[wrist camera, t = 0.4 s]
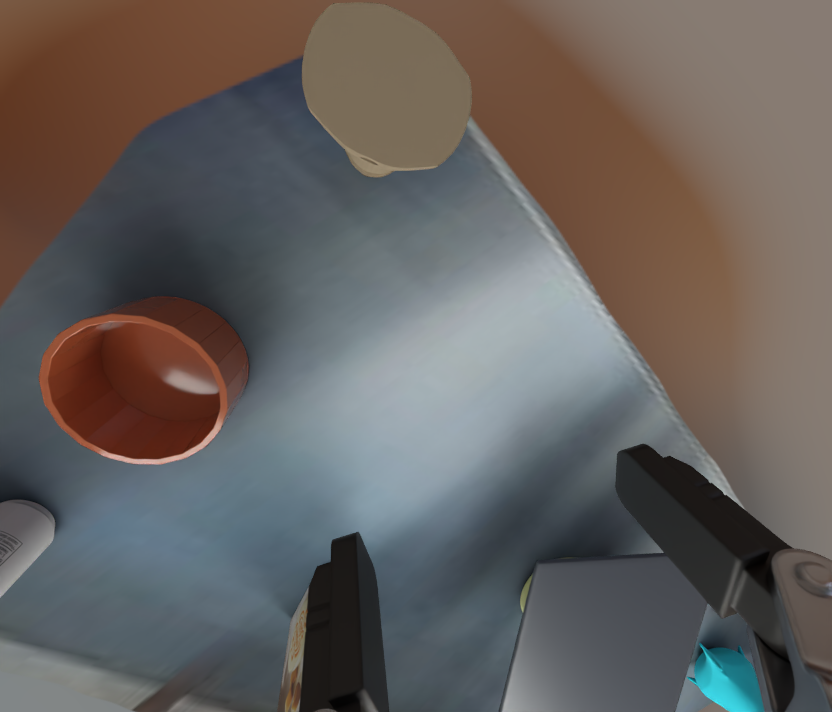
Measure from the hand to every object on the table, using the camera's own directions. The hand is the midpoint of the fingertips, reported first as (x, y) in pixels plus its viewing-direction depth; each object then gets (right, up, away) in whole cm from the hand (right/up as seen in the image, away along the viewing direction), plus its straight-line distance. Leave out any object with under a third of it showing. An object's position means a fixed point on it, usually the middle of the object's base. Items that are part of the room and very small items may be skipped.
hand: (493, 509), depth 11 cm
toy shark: (+44, -43, +49) cm, 79 cm away
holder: (-22, +4, +20) cm, 30 cm away
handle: (-6, +20, +17) cm, 27 cm away
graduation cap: (+16, -26, +38) cm, 48 cm away
